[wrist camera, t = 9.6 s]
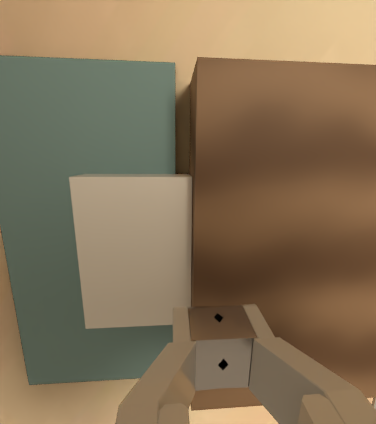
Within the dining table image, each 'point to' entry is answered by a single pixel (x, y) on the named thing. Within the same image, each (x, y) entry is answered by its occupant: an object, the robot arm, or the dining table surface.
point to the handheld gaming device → (374, 402)
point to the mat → (62, 204)
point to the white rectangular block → (133, 247)
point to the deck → (287, 207)
